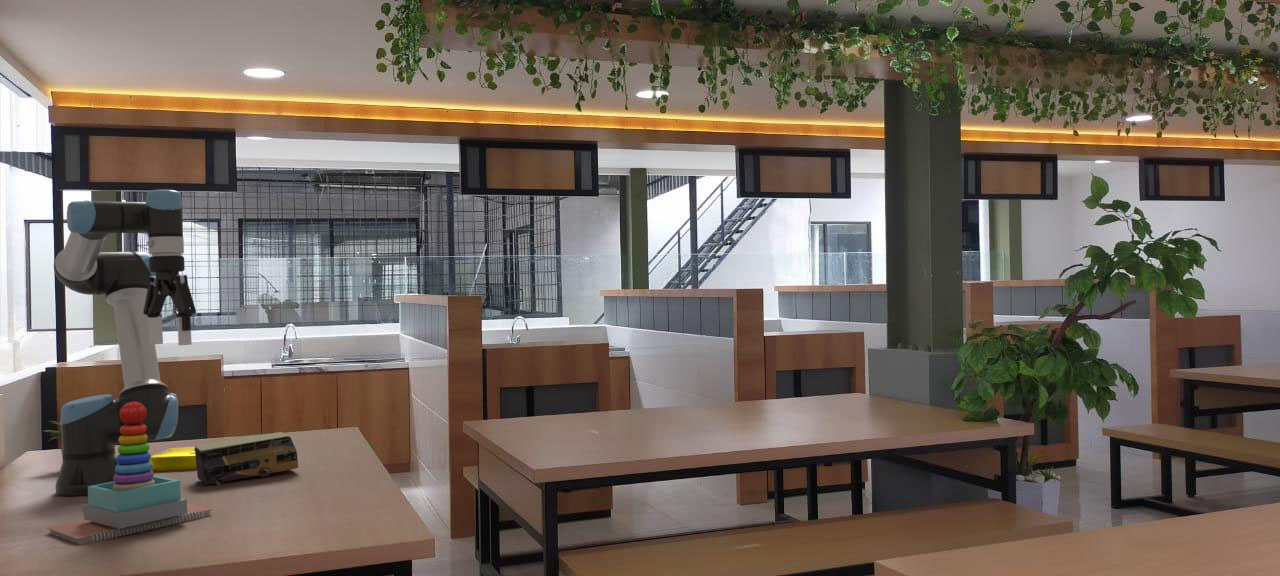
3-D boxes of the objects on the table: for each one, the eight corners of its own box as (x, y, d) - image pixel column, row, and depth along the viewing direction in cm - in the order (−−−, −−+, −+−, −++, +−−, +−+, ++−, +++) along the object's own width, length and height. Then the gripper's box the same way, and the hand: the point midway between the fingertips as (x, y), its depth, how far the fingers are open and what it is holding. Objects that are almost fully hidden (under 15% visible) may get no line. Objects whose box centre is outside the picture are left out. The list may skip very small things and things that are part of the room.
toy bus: (299, 472, 252) (295, 434, 251) (204, 490, 239) (200, 450, 239) (289, 466, 260) (286, 430, 260) (197, 483, 247) (194, 445, 247)
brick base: (83, 519, 201) (82, 486, 201) (150, 504, 212) (149, 473, 212) (118, 529, 191) (117, 494, 191) (187, 513, 202) (185, 480, 202)
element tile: (169, 462, 278) (169, 446, 278) (222, 460, 279) (221, 443, 279) (145, 473, 263) (145, 455, 263) (201, 470, 264) (200, 453, 264)
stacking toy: (137, 494, 197) (133, 404, 196) (103, 494, 198) (99, 404, 198) (163, 486, 204) (159, 399, 204) (131, 486, 206) (127, 399, 206)
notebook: (79, 548, 187) (79, 538, 187) (47, 536, 198) (46, 526, 198) (215, 517, 208) (214, 508, 208) (179, 508, 219) (178, 499, 219)
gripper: (125, 257, 230) (129, 345, 231) (177, 253, 215) (181, 346, 216) (156, 257, 236) (160, 342, 237) (209, 252, 221) (213, 343, 222)
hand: (170, 344), depth 226 cm, fingers open, 13 cm apart
